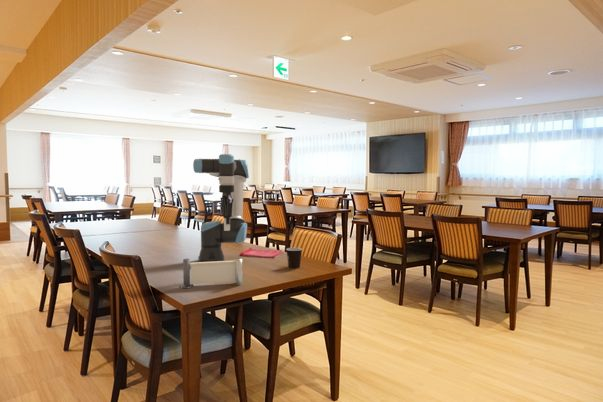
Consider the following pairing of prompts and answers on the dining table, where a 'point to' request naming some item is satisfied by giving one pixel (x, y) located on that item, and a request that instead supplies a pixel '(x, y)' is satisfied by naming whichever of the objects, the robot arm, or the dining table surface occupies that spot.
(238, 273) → the gate posts
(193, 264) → the gate
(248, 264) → the dining table surface
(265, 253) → the dish towel
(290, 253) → the coffee mug
